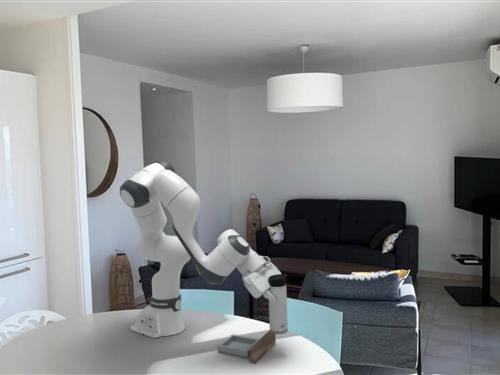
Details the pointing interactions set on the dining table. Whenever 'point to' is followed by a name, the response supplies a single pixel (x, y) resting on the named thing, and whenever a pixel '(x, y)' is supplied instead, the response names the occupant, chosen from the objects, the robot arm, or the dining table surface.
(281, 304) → the travel mug
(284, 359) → the dining table surface
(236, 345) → the slate tray
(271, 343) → the walnut rail
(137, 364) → the dining table surface
